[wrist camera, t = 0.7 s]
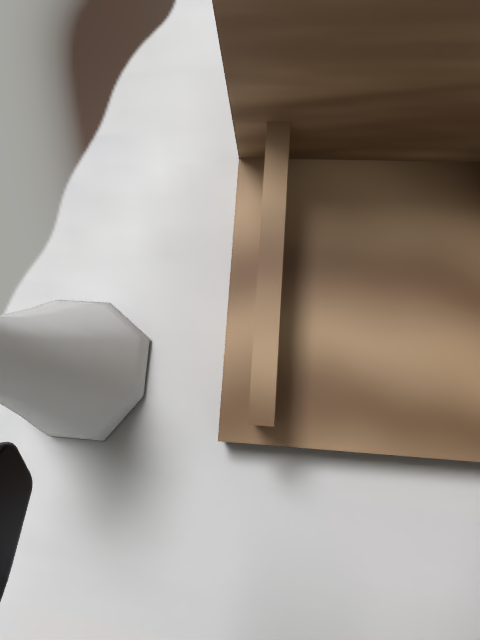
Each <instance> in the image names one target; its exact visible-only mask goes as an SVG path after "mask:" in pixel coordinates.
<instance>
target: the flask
mask: <svg viewBox="0 0 480 640" xmlns="http://www.w3.org/2000/svg"><path fill="white" fill-rule="evenodd" d="M149 341H150V339H149V338H148V337H147V336H146V335H145V334H144V333H143V332H142V331H141V330H140V329H138V328H137V327H136V326H135V325H134V324H133V323H132V322H131V321H130V320H129V319H127V318H126V317H125V316H124V315H123V314H122V313H121V312H120V311H119V310H117V309H116V308H115V307H114V306H113V305H112V304H111V303H101V302H84V301H67V300H55V301H51V302H48V303H45V304H42V305H39V306H36V307H33V308H30V309H25V310H21V311H17V312H13V313H8V314H4V315H0V404H2V405H3V406H5V407H7V408H8V409H10V410H11V411H13V412H15V413H16V414H18V415H20V416H21V417H22V418H24V419H25V420H27V421H28V422H29V423H31V424H32V425H33V426H35V427H36V428H37V429H39V430H40V431H42V432H43V433H45V434H46V435H48V436H57V437H68V438H79V439H90V440H101V441H104V440H105V439H106V438H107V437H108V436H109V435H110V433H111V432H112V431H113V430H114V429H115V428H116V427H117V425H118V424H119V423H120V422H121V421H122V420H123V419H124V418H125V416H126V415H127V414H128V413H129V412H130V411H131V410H132V408H133V407H134V406H135V405H136V404H137V403H138V402H139V401H140V399H141V398H142V397H143V395H144V386H145V377H146V368H147V359H148V350H149Z"/></svg>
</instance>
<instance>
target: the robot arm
mask: <svg viewBox="0 0 480 640" xmlns="http://www.w3.org/2000/svg"><path fill="white" fill-rule="evenodd" d="M31 492H32V477H31V474H30V472H29V470H28V468H27V466H26V464H25V462H24V460H23V458H22V457H21V455H20V453H19V451H18V449H17V447H16V446H15V445H14V444H13V443H10V442H2V443H0V601H1V598H2V596H3V593H4V590H5V587H6V584H7V581H8V578H9V574H10V571H11V567H12V564H13V560H14V556H15V552H16V549H17V545H18V541H19V537H20V533H21V530H22V526H23V522H24V518H25V514H26V511H27V507H28V503H29V499H30V495H31Z"/></svg>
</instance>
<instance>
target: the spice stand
mask: <svg viewBox="0 0 480 640" xmlns="http://www.w3.org/2000/svg"><path fill="white" fill-rule="evenodd" d="M212 3H213V9H214V15H215V20H216V26H217V32H218V38H219V44H220V50H221V56H222V61H223V67H224V73H225V79H226V85H227V91H228V97H229V102H230V108H231V114H232V120H233V126H234V132H235V138H236V143H237V149H238V155H239V165H238V179H237V192H236V206H235V219H234V232H233V246H232V259H231V273H230V286H229V300H228V313H227V326H226V340H225V353H224V367H223V380H222V393H221V407H220V420H219V434H218V441H222V442H235V443H247V444H260V445H272V446H285V447H297V448H310V449H322V450H335V451H347V452H360V453H372V454H385V455H397V456H410V457H422V458H435V459H447V460H460V461H472V462H480V0H212Z"/></svg>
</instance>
